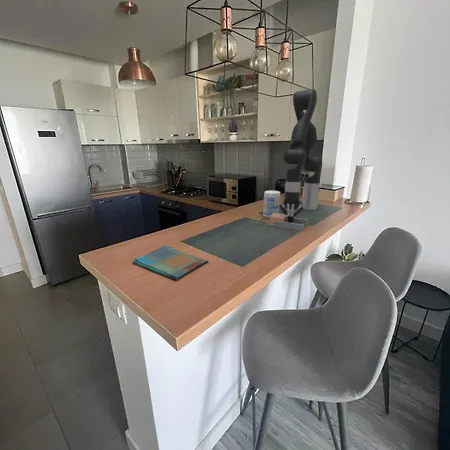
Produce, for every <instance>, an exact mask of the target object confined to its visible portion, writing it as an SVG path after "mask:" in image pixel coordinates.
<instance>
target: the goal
mask: <svg viewBox="0 0 450 450" xmlns="http://www.w3.org/2000/svg"><path fill="white" fill-rule="evenodd" d="M263 220H270V218H268V217H262V218H259V220H257V221H256V222H255V225H260V226H266V227H274V225H269V224H266V223H260V222H261V221H263Z"/></svg>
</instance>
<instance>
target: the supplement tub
mask: <svg viewBox="0 0 450 450" xmlns="http://www.w3.org/2000/svg"><path fill="white" fill-rule="evenodd" d="M280 204H281V191H279V190H265V191H264V194H263V207H262V209H263V210H262V211H263V212H262V215H263V217H264V218H270V216H271V215H272V214H273V213H278V214H280V210H281V209H280V207H279V205H280Z"/></svg>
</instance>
